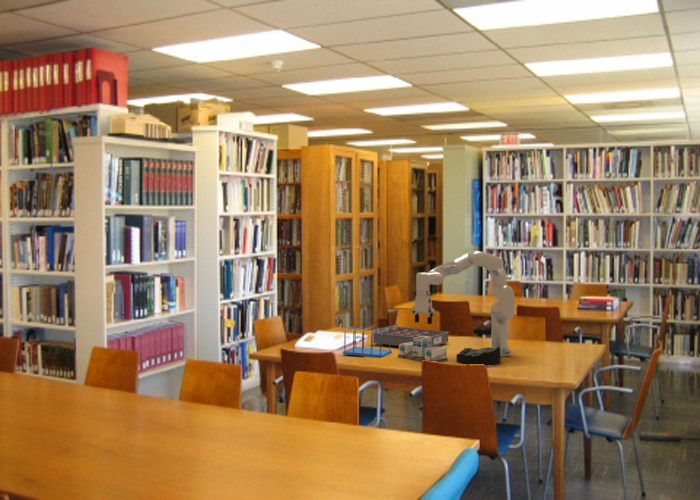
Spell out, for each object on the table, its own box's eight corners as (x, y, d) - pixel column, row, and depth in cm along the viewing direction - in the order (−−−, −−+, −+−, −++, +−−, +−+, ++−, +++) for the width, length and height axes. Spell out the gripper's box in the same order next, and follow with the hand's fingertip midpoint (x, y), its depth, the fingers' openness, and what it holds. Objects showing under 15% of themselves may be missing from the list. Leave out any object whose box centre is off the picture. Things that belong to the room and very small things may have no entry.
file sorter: (342, 354, 426) (342, 329, 426) (354, 349, 442) (354, 325, 442) (381, 358, 416) (381, 331, 416) (391, 352, 432) (392, 327, 432)
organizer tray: (426, 351, 437) (426, 335, 437) (371, 345, 460) (371, 329, 459) (449, 344, 464) (449, 328, 463) (396, 338, 486) (396, 323, 486)
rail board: (447, 360, 409) (447, 347, 408) (431, 363, 399) (431, 350, 399) (413, 354, 428) (413, 341, 427) (397, 357, 418) (397, 344, 418)
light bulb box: (422, 357, 408) (422, 338, 407) (412, 356, 412) (412, 337, 411) (432, 354, 416) (432, 336, 415) (422, 353, 420) (422, 335, 420)
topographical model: (491, 357, 420) (491, 340, 419) (507, 365, 396) (507, 347, 395) (450, 358, 416) (451, 341, 415) (465, 367, 391) (465, 348, 391)
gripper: (438, 294, 408) (439, 323, 409) (416, 292, 421) (416, 320, 422) (430, 295, 403) (430, 325, 404) (407, 293, 416) (407, 322, 416)
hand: (423, 323), depth 413 cm, fingers open, 9 cm apart
